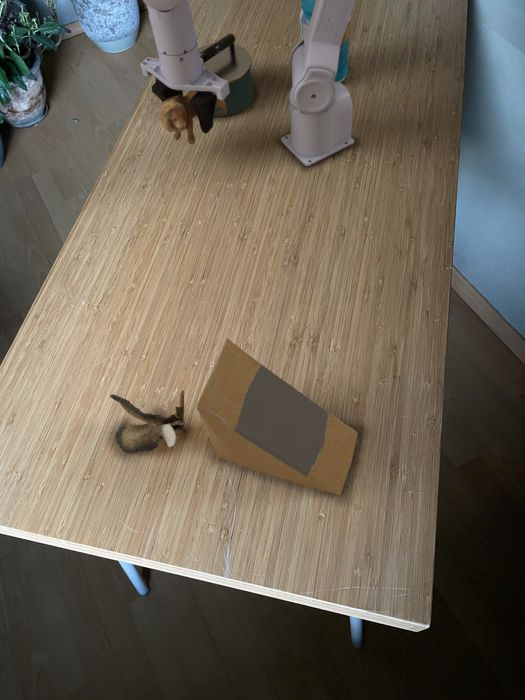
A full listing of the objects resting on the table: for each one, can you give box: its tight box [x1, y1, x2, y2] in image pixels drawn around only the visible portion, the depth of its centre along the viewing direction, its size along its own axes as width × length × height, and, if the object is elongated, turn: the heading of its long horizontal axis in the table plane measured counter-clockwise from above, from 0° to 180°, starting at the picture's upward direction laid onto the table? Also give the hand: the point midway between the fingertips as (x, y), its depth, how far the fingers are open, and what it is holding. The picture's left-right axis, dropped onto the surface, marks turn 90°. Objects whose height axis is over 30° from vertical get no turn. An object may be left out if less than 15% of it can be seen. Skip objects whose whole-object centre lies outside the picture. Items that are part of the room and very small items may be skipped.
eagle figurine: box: [109, 389, 186, 455], centre depth 71 cm, size 8×7×9 cm
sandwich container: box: [195, 337, 359, 496], centre depth 65 cm, size 9×15×15 cm, turn 71°
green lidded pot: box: [198, 33, 254, 118], centre depth 101 cm, size 12×12×10 cm
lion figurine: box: [158, 91, 227, 145], centre depth 92 cm, size 15×5×9 cm, turn 151°
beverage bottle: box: [299, 0, 352, 83], centre depth 98 cm, size 8×8×20 cm
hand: (194, 124), depth 94 cm, fingers closed on lion figurine, 5 cm apart
